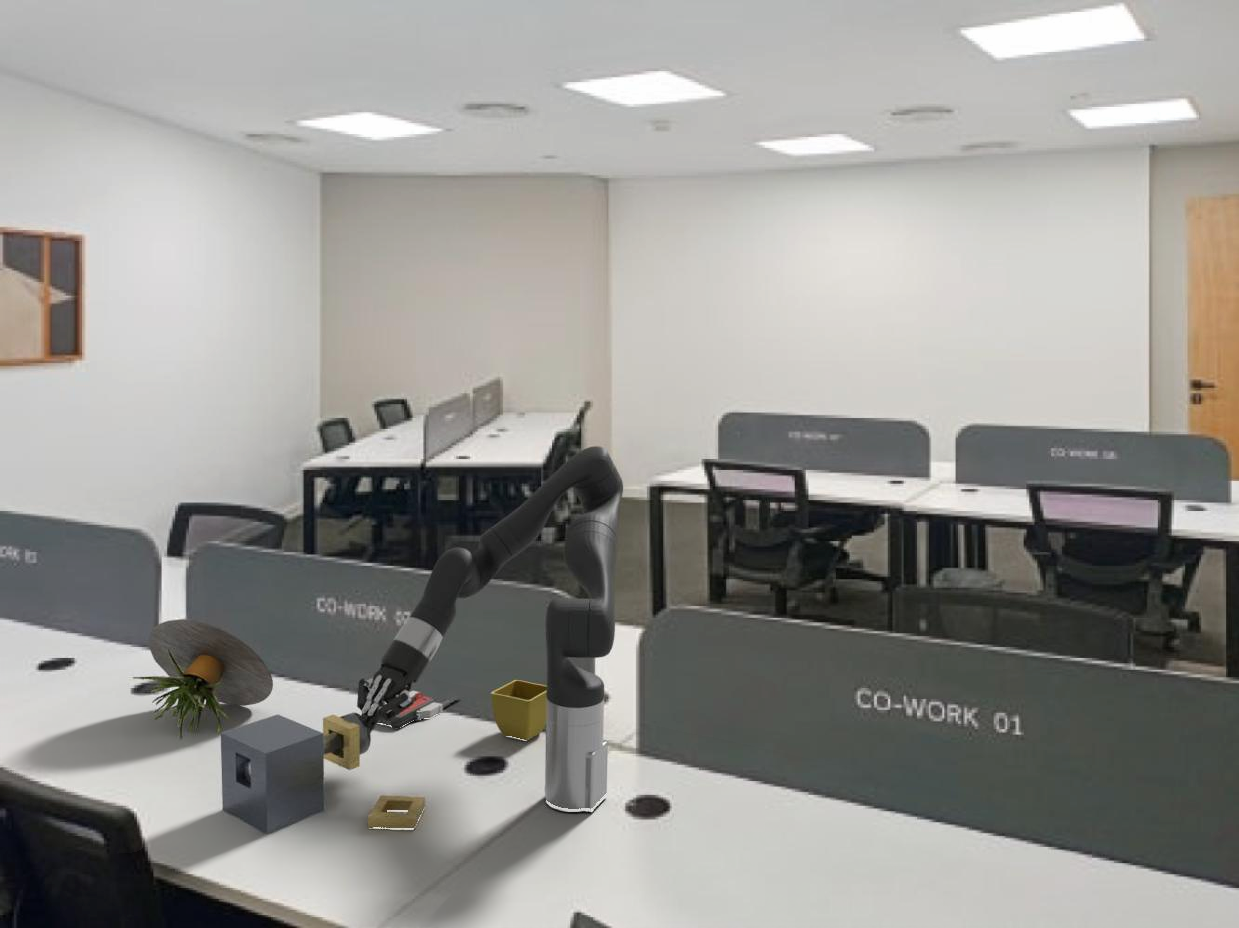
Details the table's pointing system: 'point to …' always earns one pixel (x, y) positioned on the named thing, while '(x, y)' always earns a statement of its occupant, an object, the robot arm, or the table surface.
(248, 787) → the bearing block
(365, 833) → the table surface
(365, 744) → the shaft
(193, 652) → the potted plant
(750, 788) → the table surface
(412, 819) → the frame
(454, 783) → the table surface
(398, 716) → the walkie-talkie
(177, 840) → the table surface
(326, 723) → the spacer
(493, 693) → the flower pot
